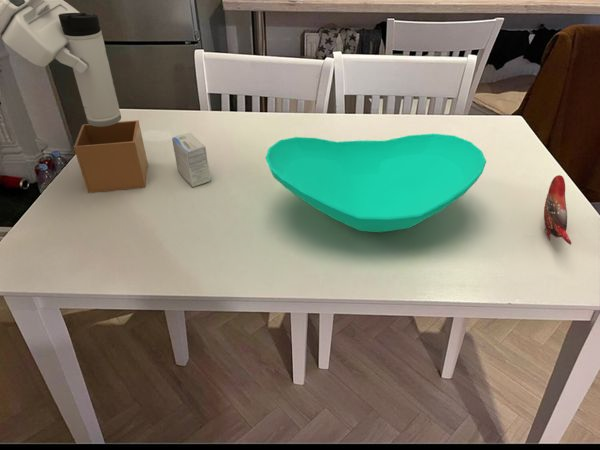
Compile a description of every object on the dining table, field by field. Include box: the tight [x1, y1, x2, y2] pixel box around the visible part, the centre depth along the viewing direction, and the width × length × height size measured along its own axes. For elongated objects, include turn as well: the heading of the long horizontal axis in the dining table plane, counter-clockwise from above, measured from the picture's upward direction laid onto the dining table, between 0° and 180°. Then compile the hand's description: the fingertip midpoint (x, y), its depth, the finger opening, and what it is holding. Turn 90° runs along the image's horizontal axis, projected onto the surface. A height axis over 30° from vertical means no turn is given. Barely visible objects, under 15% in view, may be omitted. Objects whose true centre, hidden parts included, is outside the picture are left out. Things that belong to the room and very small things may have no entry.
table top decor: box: [265, 133, 487, 233], centre depth 87 cm, size 40×28×13 cm
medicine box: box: [171, 132, 211, 188], centre depth 99 cm, size 8×4×9 cm, turn 34°
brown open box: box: [73, 119, 149, 194], centre depth 98 cm, size 12×10×11 cm
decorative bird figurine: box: [543, 174, 572, 245], centre depth 82 cm, size 3×18×10 cm, turn 166°
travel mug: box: [58, 12, 122, 127], centre depth 85 cm, size 6×7×20 cm
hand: (93, 62), depth 85 cm, fingers closed on travel mug, 6 cm apart
